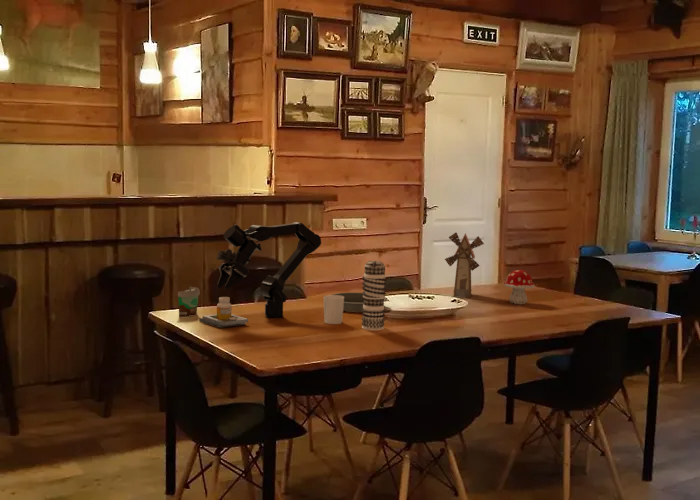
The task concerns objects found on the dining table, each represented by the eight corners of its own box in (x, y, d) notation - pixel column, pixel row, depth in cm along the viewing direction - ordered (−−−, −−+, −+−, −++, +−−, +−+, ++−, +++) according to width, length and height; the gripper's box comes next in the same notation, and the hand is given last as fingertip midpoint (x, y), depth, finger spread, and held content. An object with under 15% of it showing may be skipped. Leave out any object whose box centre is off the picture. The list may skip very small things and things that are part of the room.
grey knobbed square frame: (199, 321, 311) (199, 313, 311) (224, 318, 319) (224, 309, 318) (223, 328, 300) (223, 320, 299) (248, 325, 307) (248, 316, 307)
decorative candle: (368, 331, 302) (370, 263, 299) (356, 326, 310) (358, 260, 308) (389, 329, 307) (392, 262, 304) (377, 324, 315) (379, 259, 312)
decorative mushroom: (501, 299, 377) (503, 267, 376) (532, 301, 376) (534, 268, 374) (502, 305, 364) (504, 271, 362) (535, 306, 362) (537, 272, 360)
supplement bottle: (217, 321, 312) (217, 296, 311) (231, 321, 312) (232, 296, 311) (216, 324, 306) (216, 298, 305) (230, 324, 307) (231, 299, 306)
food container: (192, 318, 317) (192, 292, 316) (177, 317, 318) (177, 291, 317) (204, 312, 329) (204, 287, 328) (190, 311, 330) (190, 286, 329)
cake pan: (315, 305, 350) (316, 295, 350) (359, 300, 366) (359, 290, 366) (354, 315, 332) (354, 304, 331) (398, 309, 348) (398, 299, 347)
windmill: (442, 296, 380) (445, 232, 376) (444, 292, 393) (446, 229, 389) (481, 299, 377) (484, 233, 374) (481, 294, 390) (484, 231, 386)
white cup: (346, 321, 318) (347, 296, 317) (338, 325, 311) (338, 299, 310) (328, 319, 322) (329, 294, 320) (319, 323, 315) (320, 297, 313)
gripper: (219, 242, 318) (196, 276, 314) (235, 240, 302) (212, 276, 297) (241, 258, 322) (220, 292, 318) (259, 258, 306) (236, 293, 302)
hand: (221, 288), depth 309 cm, fingers open, 9 cm apart
